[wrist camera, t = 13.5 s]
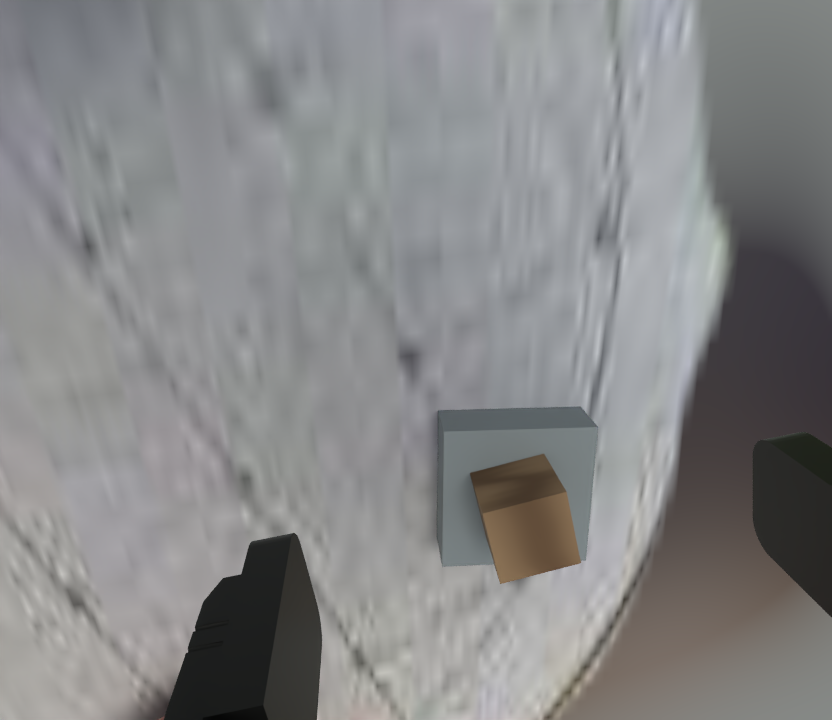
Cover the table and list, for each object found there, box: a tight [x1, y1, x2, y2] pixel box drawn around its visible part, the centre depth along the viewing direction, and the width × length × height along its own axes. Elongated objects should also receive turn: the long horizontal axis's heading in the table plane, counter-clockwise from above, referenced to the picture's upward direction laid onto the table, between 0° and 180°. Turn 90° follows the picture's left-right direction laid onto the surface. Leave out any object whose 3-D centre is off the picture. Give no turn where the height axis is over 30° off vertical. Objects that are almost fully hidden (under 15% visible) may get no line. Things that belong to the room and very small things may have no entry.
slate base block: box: [437, 407, 598, 567], centre depth 44 cm, size 10×10×4 cm
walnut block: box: [470, 454, 581, 584], centre depth 40 cm, size 5×5×5 cm
